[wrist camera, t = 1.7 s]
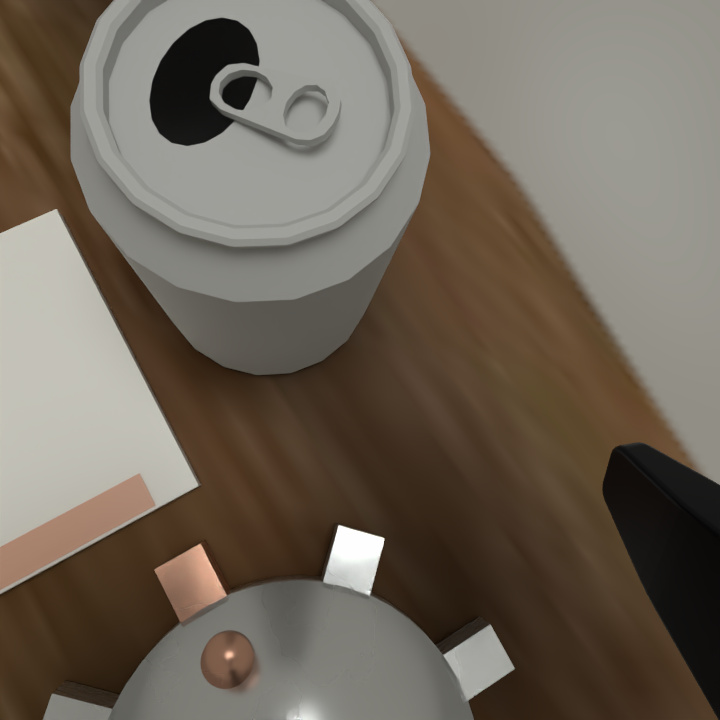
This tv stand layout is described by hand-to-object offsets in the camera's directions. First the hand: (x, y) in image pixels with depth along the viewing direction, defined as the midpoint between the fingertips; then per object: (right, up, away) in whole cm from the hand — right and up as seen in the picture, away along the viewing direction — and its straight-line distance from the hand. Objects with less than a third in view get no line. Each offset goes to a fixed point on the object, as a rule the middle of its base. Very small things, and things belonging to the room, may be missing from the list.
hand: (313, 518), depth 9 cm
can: (-3, +5, +15) cm, 16 cm away
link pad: (-12, 0, +12) cm, 17 cm away
